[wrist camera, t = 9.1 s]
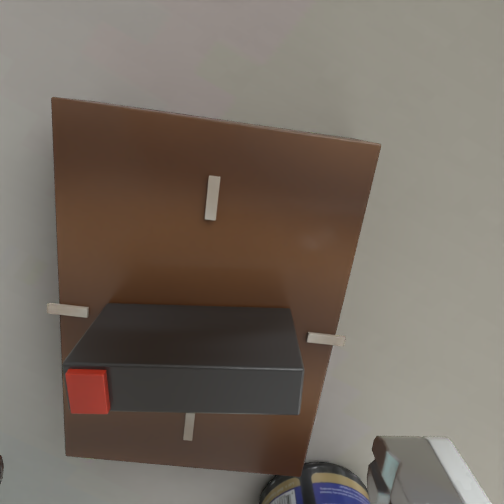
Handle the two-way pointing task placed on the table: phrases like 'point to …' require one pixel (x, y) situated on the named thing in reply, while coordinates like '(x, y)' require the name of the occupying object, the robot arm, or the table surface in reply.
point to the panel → (203, 257)
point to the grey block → (186, 361)
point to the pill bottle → (316, 487)
